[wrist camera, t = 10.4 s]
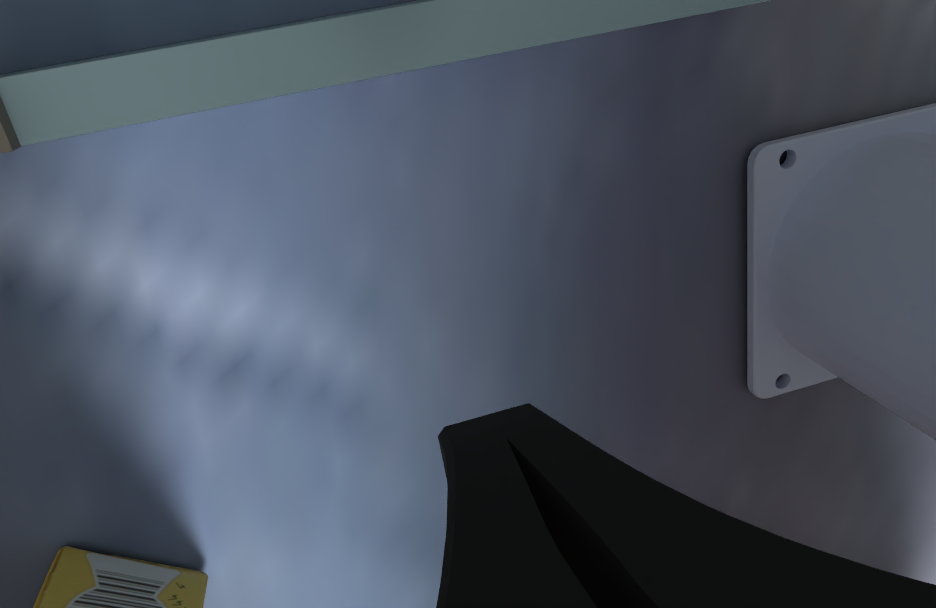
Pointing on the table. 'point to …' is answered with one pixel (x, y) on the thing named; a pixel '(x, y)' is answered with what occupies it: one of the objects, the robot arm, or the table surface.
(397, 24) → the pair of grey bars
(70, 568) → the candy box
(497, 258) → the table surface
